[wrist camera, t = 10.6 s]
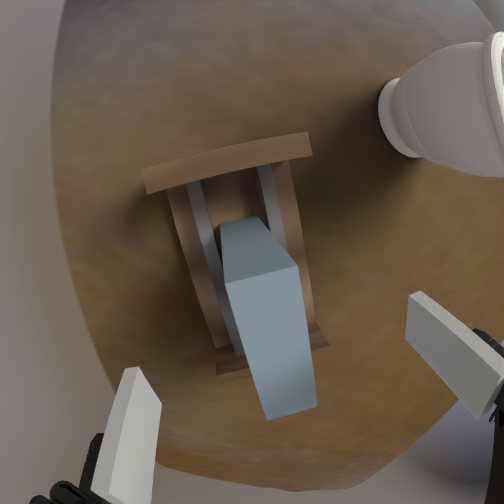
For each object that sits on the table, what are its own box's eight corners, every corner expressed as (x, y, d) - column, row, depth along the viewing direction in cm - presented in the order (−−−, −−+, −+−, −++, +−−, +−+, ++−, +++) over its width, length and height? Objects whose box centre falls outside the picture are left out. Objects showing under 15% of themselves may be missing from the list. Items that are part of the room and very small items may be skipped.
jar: (384, 51, 20) (491, 3, 6) (450, 108, 23) (556, 103, 8) (351, 132, 22) (484, 116, 8) (425, 185, 25) (543, 214, 11)
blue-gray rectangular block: (219, 223, 23) (224, 283, 11) (256, 214, 23) (297, 265, 11) (245, 318, 25) (266, 420, 14) (276, 310, 25) (317, 406, 14)
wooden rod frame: (162, 168, 22) (141, 170, 15) (281, 140, 22) (307, 131, 15) (218, 350, 27) (220, 399, 21) (313, 325, 28) (338, 367, 21)
